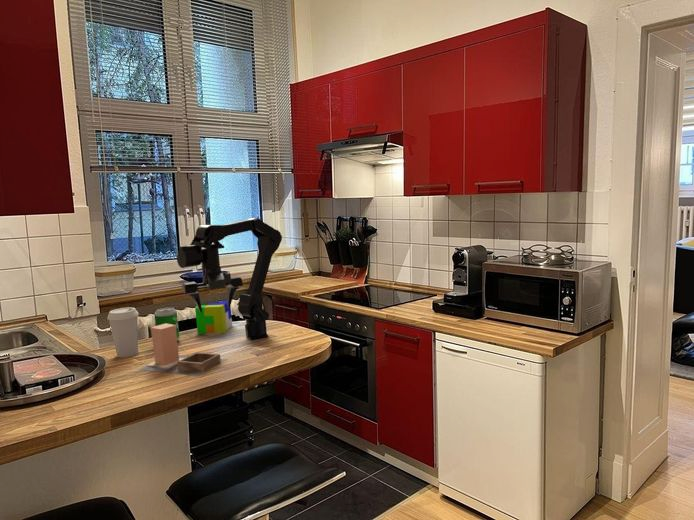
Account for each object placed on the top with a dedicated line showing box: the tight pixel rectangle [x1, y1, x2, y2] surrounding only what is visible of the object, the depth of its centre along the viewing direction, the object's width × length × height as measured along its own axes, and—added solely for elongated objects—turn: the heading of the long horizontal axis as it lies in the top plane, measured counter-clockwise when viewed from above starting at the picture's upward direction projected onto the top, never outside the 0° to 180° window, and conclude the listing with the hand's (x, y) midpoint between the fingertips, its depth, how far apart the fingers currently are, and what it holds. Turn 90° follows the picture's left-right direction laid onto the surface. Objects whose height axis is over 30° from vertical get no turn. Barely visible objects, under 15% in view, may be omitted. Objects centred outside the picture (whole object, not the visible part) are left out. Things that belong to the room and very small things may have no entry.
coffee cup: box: [107, 306, 140, 359], centre depth 168 cm, size 10×10×15 cm
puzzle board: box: [137, 351, 228, 377], centre depth 152 cm, size 22×14×4 cm, turn 68°
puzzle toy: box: [194, 300, 233, 335], centre depth 194 cm, size 10×10×10 cm
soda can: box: [154, 306, 180, 341], centre depth 180 cm, size 8×8×12 cm
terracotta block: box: [150, 323, 180, 366], centre depth 154 cm, size 5×5×11 cm
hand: (215, 310), depth 169 cm, fingers open, 9 cm apart
